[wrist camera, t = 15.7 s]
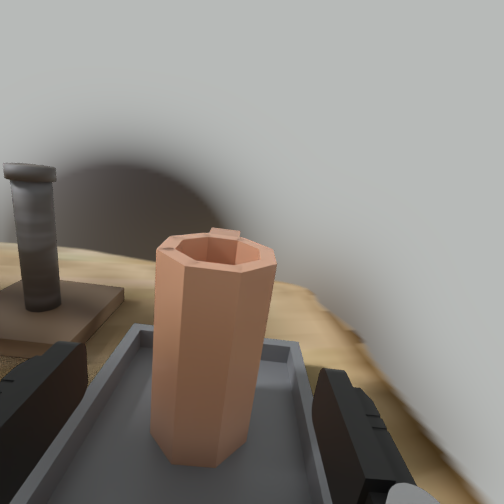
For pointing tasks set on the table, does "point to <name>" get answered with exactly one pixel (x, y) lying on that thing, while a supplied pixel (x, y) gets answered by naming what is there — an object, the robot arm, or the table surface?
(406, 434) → the table surface
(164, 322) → the sleeve
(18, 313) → the stake stand
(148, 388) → the tray
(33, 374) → the robot arm
